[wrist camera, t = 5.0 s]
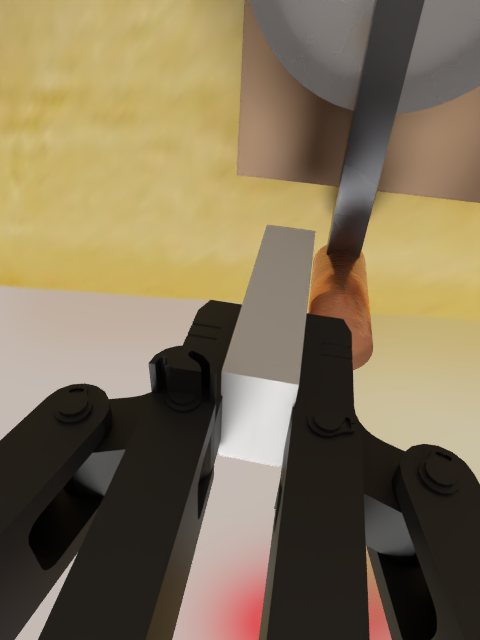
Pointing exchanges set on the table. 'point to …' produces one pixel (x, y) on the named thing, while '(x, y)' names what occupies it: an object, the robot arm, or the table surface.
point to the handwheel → (368, 109)
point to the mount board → (333, 129)
